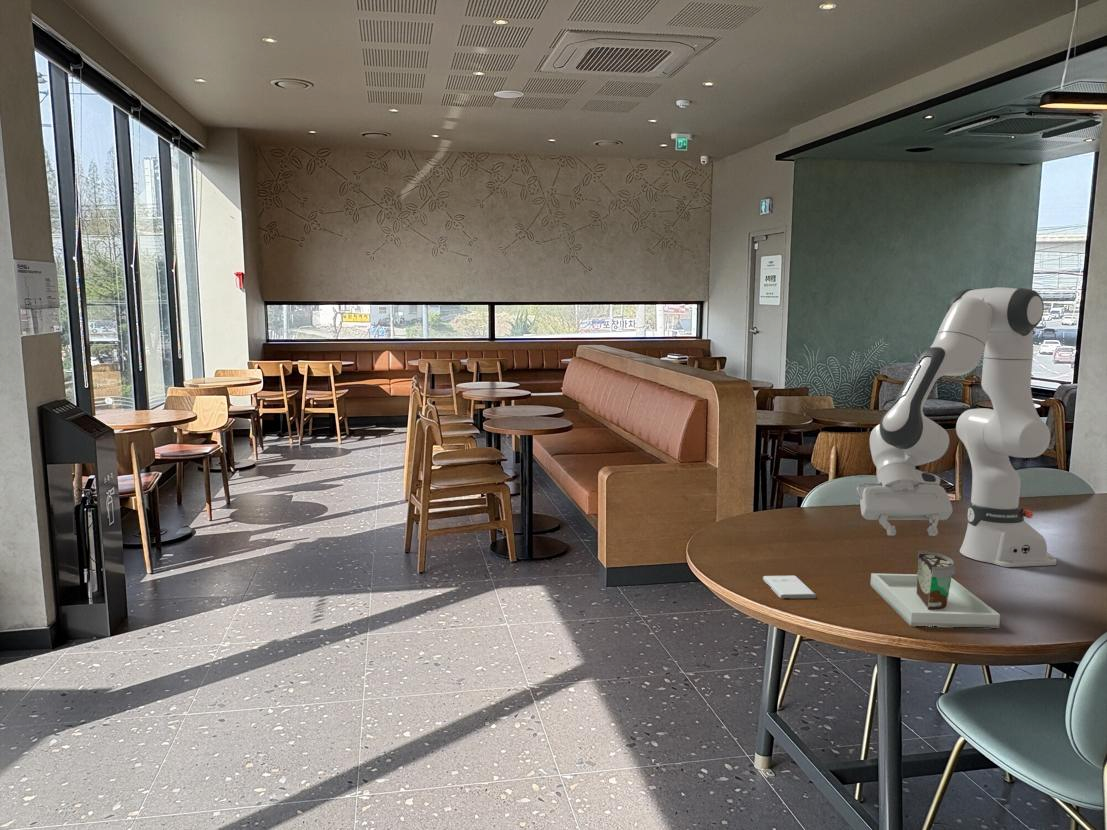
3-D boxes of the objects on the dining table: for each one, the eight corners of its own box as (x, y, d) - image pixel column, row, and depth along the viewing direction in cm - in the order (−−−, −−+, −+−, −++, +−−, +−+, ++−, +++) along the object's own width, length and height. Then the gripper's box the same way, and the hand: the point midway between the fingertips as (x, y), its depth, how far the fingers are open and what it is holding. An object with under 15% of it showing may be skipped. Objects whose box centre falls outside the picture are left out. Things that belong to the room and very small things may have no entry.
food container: (960, 614, 171) (964, 569, 169) (929, 612, 172) (933, 567, 170) (943, 593, 183) (946, 551, 181) (914, 591, 184) (917, 549, 182)
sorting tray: (947, 587, 189) (948, 575, 189) (998, 628, 166) (1000, 614, 165) (870, 585, 190) (871, 573, 190) (910, 626, 166) (911, 612, 166)
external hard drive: (780, 601, 181) (762, 581, 193) (815, 600, 182) (795, 581, 194) (780, 594, 181) (763, 575, 193) (815, 593, 181) (796, 574, 194)
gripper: (858, 476, 190) (871, 527, 182) (946, 476, 189) (962, 528, 181) (851, 489, 195) (863, 540, 187) (936, 490, 194) (952, 541, 186)
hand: (912, 534), depth 184 cm, fingers open, 8 cm apart
